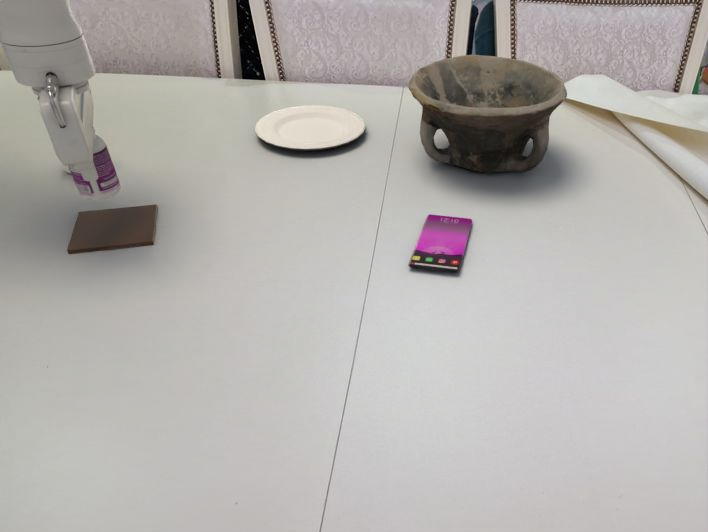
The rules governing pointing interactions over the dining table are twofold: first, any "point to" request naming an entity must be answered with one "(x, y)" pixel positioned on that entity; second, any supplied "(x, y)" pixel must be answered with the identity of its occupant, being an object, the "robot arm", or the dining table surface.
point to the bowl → (487, 111)
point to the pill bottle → (107, 174)
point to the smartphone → (441, 243)
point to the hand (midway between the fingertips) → (92, 167)
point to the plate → (310, 127)
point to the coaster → (113, 228)
